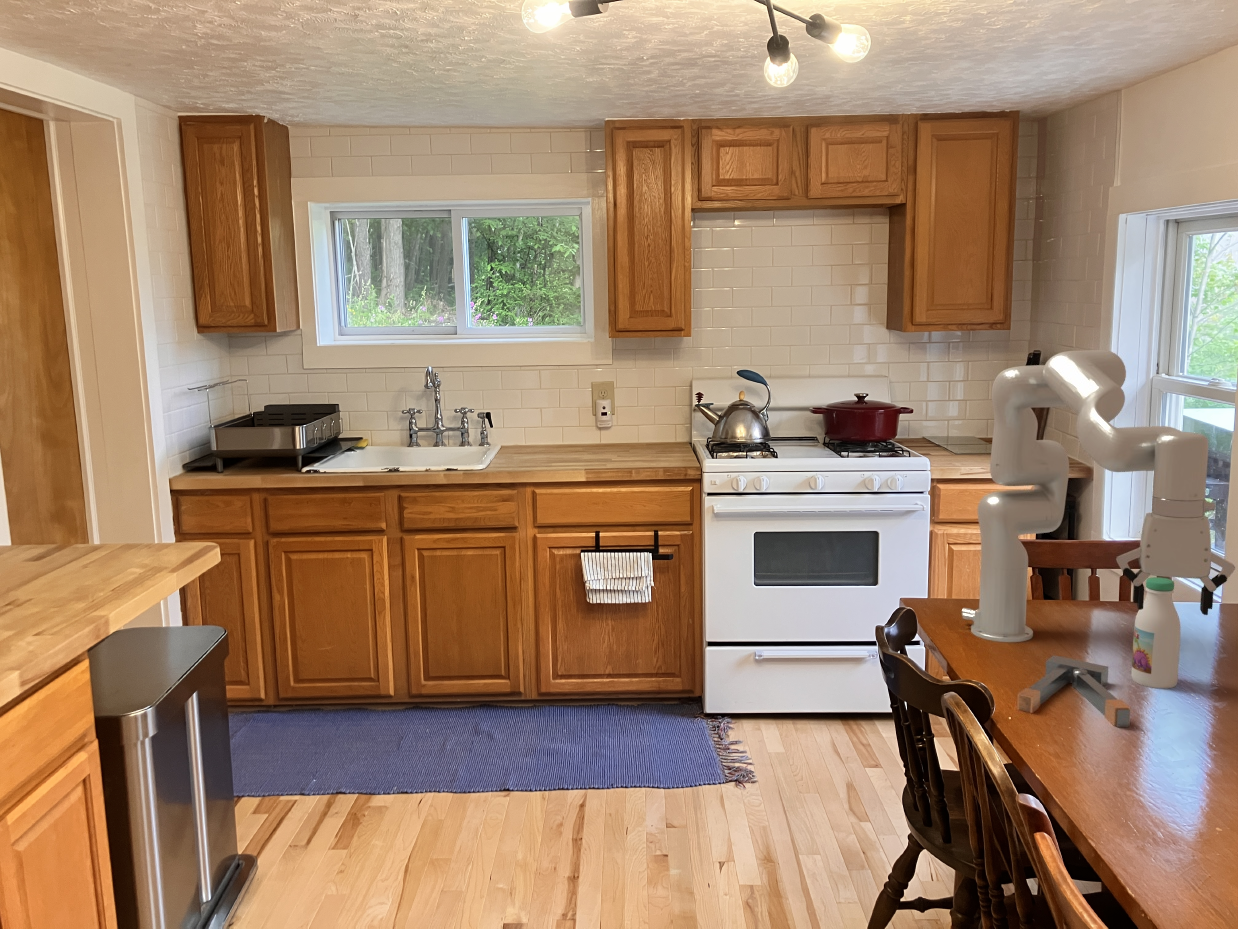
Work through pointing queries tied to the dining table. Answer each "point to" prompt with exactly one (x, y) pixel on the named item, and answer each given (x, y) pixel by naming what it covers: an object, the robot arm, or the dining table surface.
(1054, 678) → the tongs base
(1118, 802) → the dining table surface
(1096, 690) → the arm
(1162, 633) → the milk bottle
